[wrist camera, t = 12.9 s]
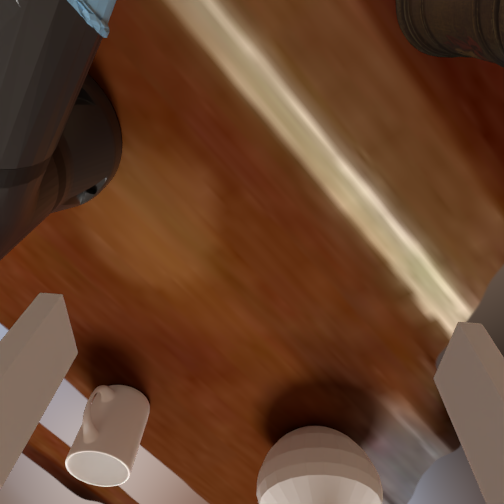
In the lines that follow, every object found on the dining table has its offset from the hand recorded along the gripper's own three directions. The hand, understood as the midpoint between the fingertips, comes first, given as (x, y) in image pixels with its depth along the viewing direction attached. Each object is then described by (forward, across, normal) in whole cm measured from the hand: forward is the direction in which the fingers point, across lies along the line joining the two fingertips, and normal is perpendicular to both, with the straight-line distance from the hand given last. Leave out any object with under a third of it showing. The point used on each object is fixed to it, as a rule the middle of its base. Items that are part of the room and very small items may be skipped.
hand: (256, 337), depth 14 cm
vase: (+29, +11, -51) cm, 60 cm away
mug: (+29, -20, -42) cm, 55 cm away
